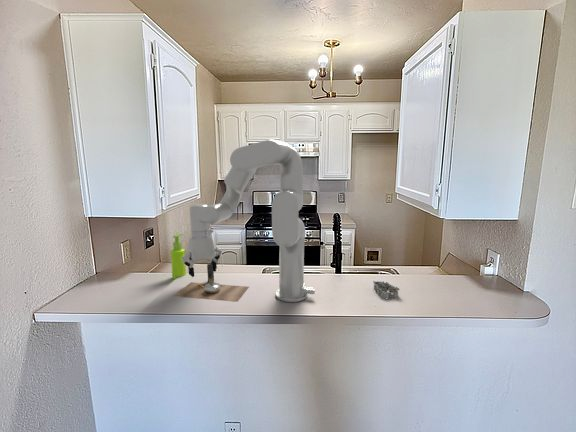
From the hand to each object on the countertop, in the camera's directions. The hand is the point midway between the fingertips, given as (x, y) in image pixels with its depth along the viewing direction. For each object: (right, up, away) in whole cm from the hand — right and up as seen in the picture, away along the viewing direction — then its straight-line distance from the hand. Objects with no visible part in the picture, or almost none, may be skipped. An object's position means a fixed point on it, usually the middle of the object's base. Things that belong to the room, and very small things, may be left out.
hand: (203, 273), depth 128 cm
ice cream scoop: (+5, -5, -4) cm, 7 cm away
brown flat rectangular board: (+6, -7, -8) cm, 12 cm away
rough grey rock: (+75, -7, -6) cm, 76 cm away
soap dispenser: (-14, -4, +11) cm, 18 cm away
